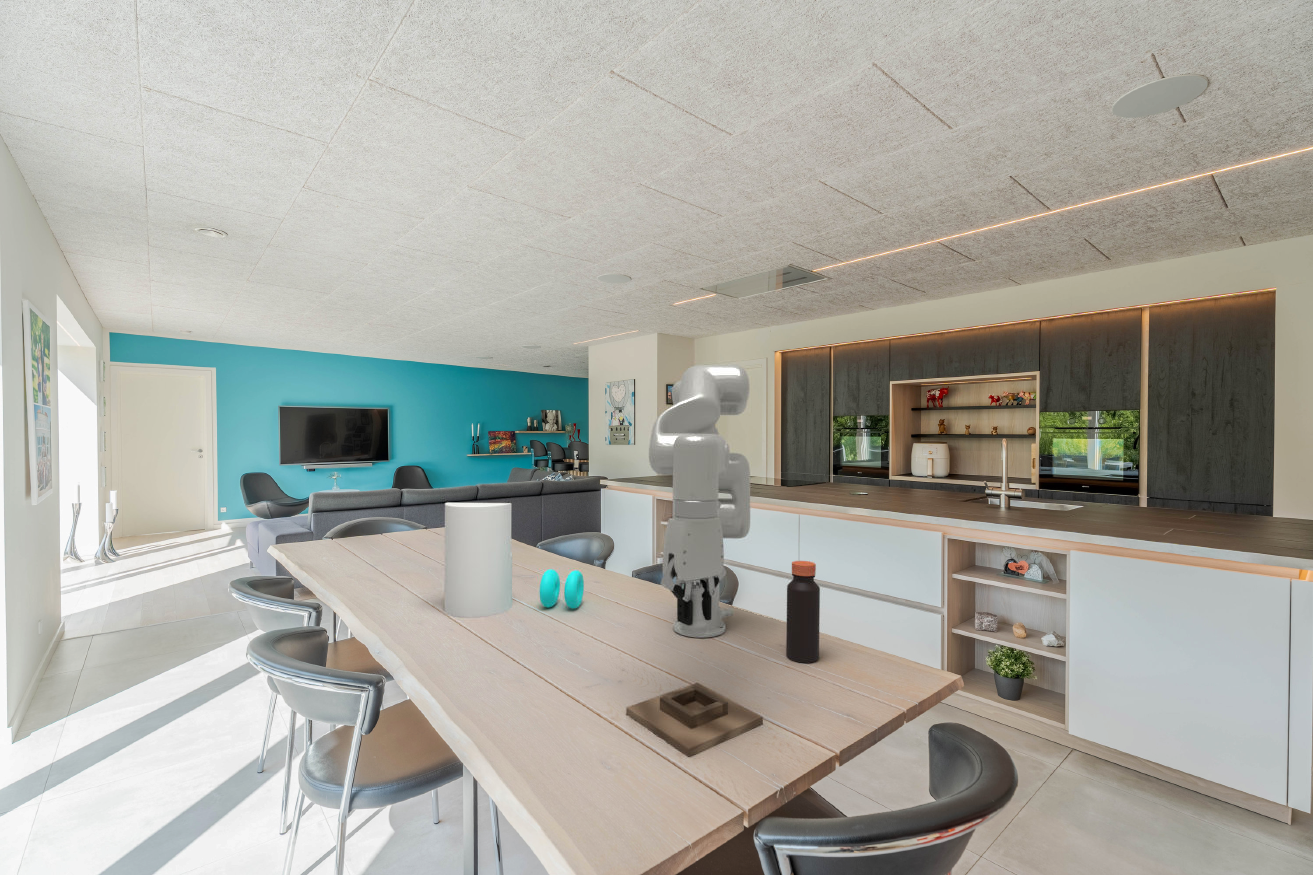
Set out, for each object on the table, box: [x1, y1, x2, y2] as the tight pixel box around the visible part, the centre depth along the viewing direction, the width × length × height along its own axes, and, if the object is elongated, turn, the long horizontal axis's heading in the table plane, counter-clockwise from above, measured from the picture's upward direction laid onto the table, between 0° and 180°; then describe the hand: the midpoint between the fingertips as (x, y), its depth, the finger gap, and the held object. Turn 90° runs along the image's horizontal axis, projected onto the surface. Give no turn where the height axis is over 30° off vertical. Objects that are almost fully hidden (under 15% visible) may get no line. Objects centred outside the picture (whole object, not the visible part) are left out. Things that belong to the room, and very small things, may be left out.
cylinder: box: [444, 502, 513, 619], centre depth 156 cm, size 17×17×28 cm
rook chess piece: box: [681, 582, 708, 636], centre depth 97 cm, size 4×4×8 cm
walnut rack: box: [625, 682, 764, 758], centre depth 97 cm, size 16×16×3 cm
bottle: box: [785, 560, 821, 664], centre depth 123 cm, size 7×7×20 cm
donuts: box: [539, 568, 585, 610], centre depth 157 cm, size 10×10×10 cm
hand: (694, 619), depth 97 cm, fingers closed on rook chess piece, 3 cm apart
